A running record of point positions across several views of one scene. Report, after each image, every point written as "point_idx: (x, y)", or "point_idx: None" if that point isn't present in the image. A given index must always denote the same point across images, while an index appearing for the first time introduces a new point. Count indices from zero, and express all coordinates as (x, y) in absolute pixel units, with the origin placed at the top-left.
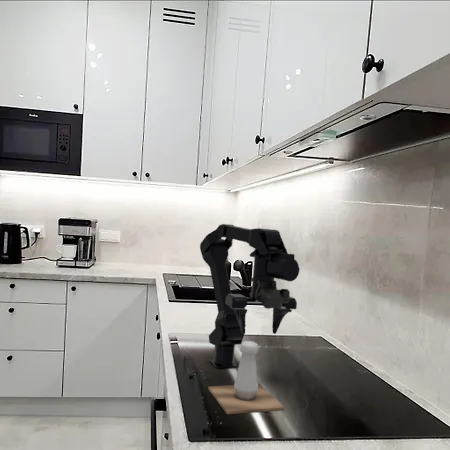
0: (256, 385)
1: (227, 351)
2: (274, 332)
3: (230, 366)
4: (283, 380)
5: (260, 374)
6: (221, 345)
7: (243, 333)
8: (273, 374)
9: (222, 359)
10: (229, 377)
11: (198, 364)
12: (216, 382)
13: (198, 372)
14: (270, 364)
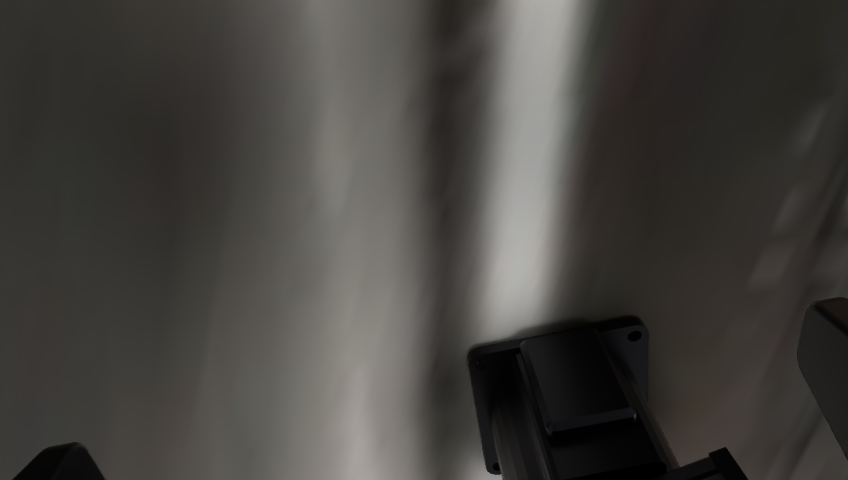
0: None
1: (604, 432)
2: (71, 462)
3: (533, 338)
4: (82, 123)
5: (293, 241)
6: (691, 469)
7: (837, 300)
8: (168, 253)
9: (620, 374)
10: (596, 149)
11: (747, 372)
12: (756, 24)
13: (815, 228)
14: (167, 444)
